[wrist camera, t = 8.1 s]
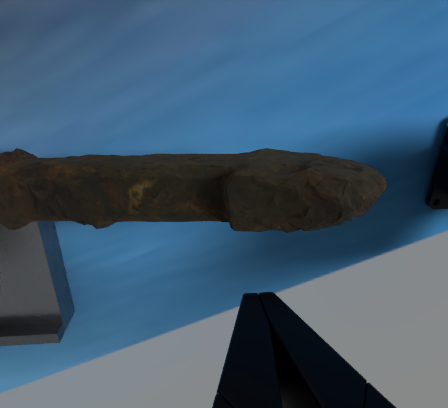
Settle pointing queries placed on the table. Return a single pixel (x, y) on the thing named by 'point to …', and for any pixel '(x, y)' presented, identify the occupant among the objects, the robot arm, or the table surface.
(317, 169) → the hand tool
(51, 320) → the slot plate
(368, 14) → the table surface
